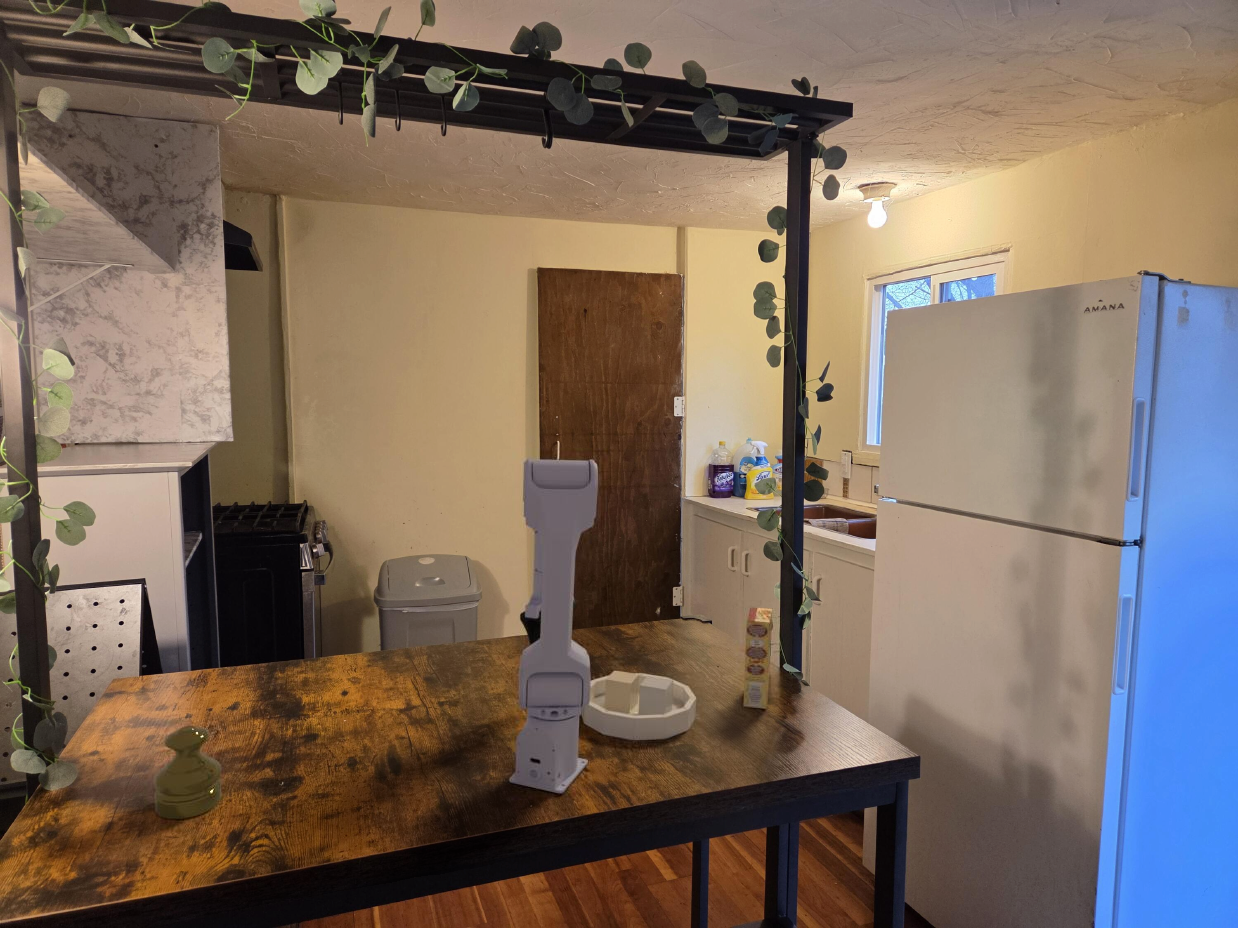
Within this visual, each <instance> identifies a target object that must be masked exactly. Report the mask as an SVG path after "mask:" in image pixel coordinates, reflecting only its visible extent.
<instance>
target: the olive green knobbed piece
mask: <svg viewBox="0 0 1238 928" xmlns="http://www.w3.org/2000/svg"><path fill="white" fill-rule="evenodd" d="M210 738H211V733H210V730H208V729H207V728H204V727H200V726H194V725H184V726H182V727H180V728H178V729H176V730H175V731H172V732H171V733H170V734H168V735H167V736H166V737H165V738H164V746H165V747H167V748H168V749H170V750H172V751H173V752H175V756H174V757H173V758H172V759H171V760H170V761H168V762H167V764H166V765H164V766H163V767H162V768H160V769H159V770H158V771H157V773H156V774H155V776H154V779H153V785H154V788H155V790H156V791H155V793H154V795H153V796H154V797H153V798H154V799H155V800H154V802H155V803H154V805H155V806H154V808H155V813H156V814H157V815H158V816H160V817H161V818H164V819H166V820H167V819H169V820H184V819H190V818H194V817H197V816H200V815H202V814H205V813H207V812H208V811H210V810H212V809H213V808H215V807H216V806H217V805H218V804H219V803H220V801H221V799H222V784H223V781H222V780H221V779H220V777H221V774H222V765H221V763H220V762H219V761H217V759H216V758H213V757H209V756H208V755H207V754H206V753H203V752H202V751H201V748H202V746H203V745H204V744H205V743H207V742H208V741H209V739H210Z"/></svg>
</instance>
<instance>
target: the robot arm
mask: <svg viewBox="0 0 1238 928" xmlns="http://www.w3.org/2000/svg"><path fill="white" fill-rule="evenodd" d="M522 479H523V483H522V485H523V486H522V487H523V488H522V489H523V490H522V491H523V492H522V501H523V518H525V526H527V527H528V528H530V529H532V530H533V532H534V538H533V539H534V542H533V543H534V545H533V550H534V551H533V582H532V583H533V584H532V587H533V588H532V594H531V596H530V599H529V601H528V603H527V604H526V605H525V610H524V611H522V612H521V613H520V614H519V621H520V622H521V623H522V625H523V628H524V629H525V631H526V635H527V636H528V637H527V638H528V642H529V646H527V647H526V648H525V649H523V650H522V654H520V656H519V657H520V661H519V663H520V664H519V666H518V671H519V672H518V704H517V705H518V706H519V707H520V708H521V710H526V721H525V723H524V725H523V728H522V729H521V730H520V732H519V733H518V735H517V736H516V740H515V771H514V773H513V774H512V775H511V776H510V777H509V778H508V782H510V783H511V784H516V785H521V786H525V787H529V788H533V789H537V790H543V791H547V792H550V793H551V792H552V793H555V794H563V793H565V791H566V790H567V789H568V787H570V785H571V784H572V783H573V781H575V779H576V778H577V777H578V776H579V775H580V773H582V771H583V770H584V769H585V768H586V766H587V765H588V764H589V761H588V759H585V758H580V757H579V736H580V735H579V732H580V730H579V729H580V728H579V727H580V716H582V715H581V708H586V706H587V705H588V704H589V702H590V687H591V682H590V681H591V663H590V656H589V654H588V652H587V649H586V648H584V647H583V646H582V645H580V644H579V643H577V642H576V641H574V640H573V639H572V636H573V634H572V632H573V615H574V613H575V612H576V609H577V608H578V604H579V601H578V600H577V599H575V597H574V591H575V588H574V587H575V569H576V553H577V548H578V545H579V541H580V539H581V538H580V537H581V535H582V533H583V532H586V531H587V530H588V529H590V528H592V527H593V526H594V525H595V519H596V517H597V505H598V504H597V502H598V500H597V499H598V493H599V492H598V491H599V470H598V463H596V462H595V460H594V459H589V460H577V459H576V460H573V459H569V460H567V459H533V458H531V457H528V458H526V460H525V461H524V462H523V478H522Z"/></svg>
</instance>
